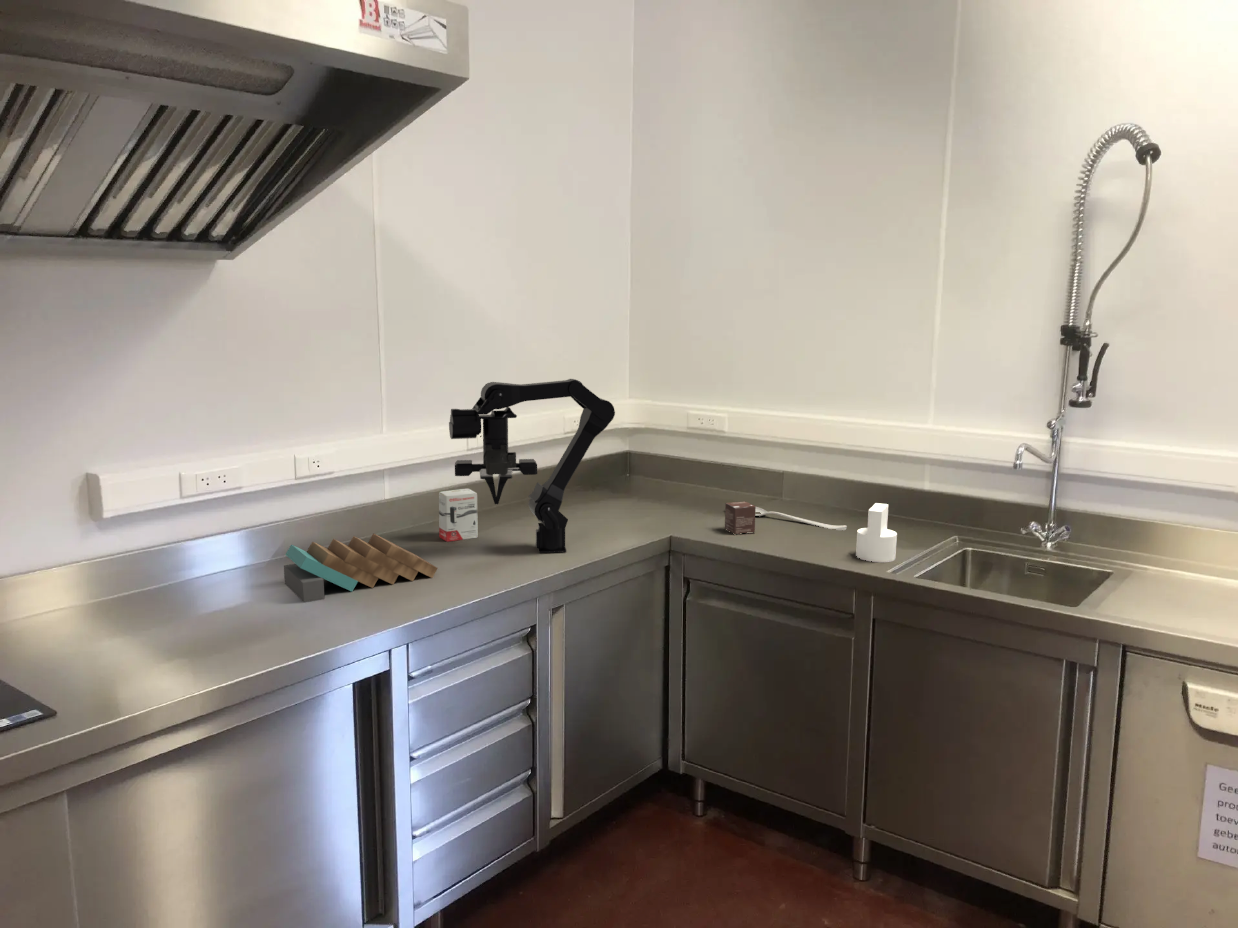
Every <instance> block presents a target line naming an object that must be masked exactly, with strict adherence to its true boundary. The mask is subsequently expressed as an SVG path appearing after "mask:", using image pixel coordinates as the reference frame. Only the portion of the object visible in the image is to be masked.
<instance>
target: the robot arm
mask: <svg viewBox="0 0 1238 928" xmlns="http://www.w3.org/2000/svg"><path fill="white" fill-rule="evenodd" d="M558 398H559V399H560V398H561V399H562V398H571V399H572V400H573V401H574V402H576V404H577V405H578V406H579V407H580V408H582V412H581V414H580V418H579V422H578V428H577V430H576V431H575V434H574V435H573V437H572V439H571V440H570V442H569V444H568V445H567V447H566V449H565V450H564V453H563V454H562V456H561V458H560V459H559V461H558V462H557V464H556V466H555V468H554V469H553V471H552V473H551V474H550V476H549V478H548V479H547V481H545V482H544V483H542V484H541V483H539V482H536V484H535V486H534V488H533V491H532V493H530V494H529V495H528V498H529V501H528V508H529V511H530V512H531V514H533V516H535V517H536V519H537V521H538V523H537V529H536V530H535V548H536V549H537V550H538V553H539V554H544V553H545V554H547V553H549V554H550V553H567V547H566V527H567V524H568V523H569V522H568V521H569V519H568V518H567V517H566V516H565V515H564V514H563V513H562V512H560V509H561V505H562V503H563V498H564V494H565V489H566V488H567V486H568V485H569V483H570V481H571V479H572V477H573V476H574V474H575V471H576V470H577V469H578V467H579V465H580V464H581V462H582V460H583V458H584V456H585V455H586V453H587V451H588V450H589V449H590V446H591V445H592V443H593V441H594V440H595V438H596V437H598V436H599V435H600V434H601V433H602V432H604V430H605V429H606V428H607V427H608V426H609V425H610V424H611V422H612V421H613V420H614V417H615V415H616V411H615V406H614V405H613V403H611V402H610V401H608V400H606V399H604V398H601V397H599V396H597V394H595V393H594V392H592V391H591V390H590V389H589V388H588V387H586V386H585V385H584V384H583V383H582V382H581V381H580V380H579V379H574V378H568V379H564V380H556V381H555V380H554V381H546V382H545V381H544V382H535V383H534V382H533V383H532V382H531V383H523V384H517V383H509V382H499V381H498V382H497V381H490V382H487V383H485V385H483V387H482V388H481V391H480V397H479V398H478V400H477V401H476V403H475V404H474V405H473V407H472V408H467V409H460V408H451V409H450V417H449V422H448V429H449V437H450V438H449V439H450V440H465V439H477V436H479V435H480V434H481V433H482V444H483V445H482V448H483V449H482V451H483V453H482V455H483V456H482V457H483V459H482V461H483V462H482V463H473V460H472V459H464V460H463V459H459V460H456V461H455V462H454V477H470V475H471V474H473V472H474V473H475V472H476V473H478V472H479V479H480V480H484V481H485V482H486V484H487V486H488V489H489V491H490V494H491V497H492V499H493V502H494V503H493V504H494V505H499V504H500V500H501V497H502V493H503V491H504V489H505V486H506V484H507V481H508V480H509V479H513V472H520V473H522V475H523V476H528V475H529V476H532V475H533V476H534V475H538V464H537V461H536V460H535V459H534V458H530V459H529V458H519V459H518V462H517V452H515V451H512V452H511V451H510V452H509V419H516V418H517V417H518V415H517V414H515V413H514V412H513V411H512V409H511V407H513V406H515V405H517V404H520V403H524V402H528V401H529V402H531V401H540V400H550V399H551V400H552V399H558ZM501 409H503V410H501ZM494 475H498V477H497V485H495V482H494V481H495V480H494ZM495 486H497V488H496V487H495Z"/></svg>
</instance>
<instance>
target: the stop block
mask: <svg viewBox="0 0 1238 928" xmlns="http://www.w3.org/2000/svg"><path fill="white" fill-rule="evenodd" d="M283 574H284V575H283V576H284V578H283V579H284V585H285V586H286V587H287V588H288V589H289V590H291V592H292V593H294V594H295V596H297V597H298V598H299V599H300V600H301V601H302V602H303V603H308V602H315V601H319V600H324V599H325V582H324V580H325V579H323V578H321V577H319V576H317V575H315V574H312V573H310V572H308V571H306V570H304V569H302V568H300V567H299V566H298V565H296V564H295V563H290V564H284V565H283Z"/></svg>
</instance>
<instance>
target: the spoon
mask: <svg viewBox="0 0 1238 928" xmlns="http://www.w3.org/2000/svg"><path fill="white" fill-rule="evenodd" d="M755 510H756V512H760V513H761V514H755V516H759V517H762V516H765V515H777V516H781V517H783V518H787V519H791V520H794V521H797V522H799V523H800V522H801V523H805V524H808V525H810V526H811V525H812V526H815V525H816V526H815V527H818V526H819V528H822V527H824V528H823V529H827V528H828V530H832V529H836V530H835V531H842V530H843V531H846V530H847V527H848V526H847V525H846V524H845V525H844V524H843V525H835V524H834V525H832V524H826V523H822V522H819V521H814V520H810V519H805V518H801V517H798V516H793V515H789V514H786V513H782V512H778V511H767V510H766V509H763V508H762V507H759V506H758V507H757V506H756V509H755Z"/></svg>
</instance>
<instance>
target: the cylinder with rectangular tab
mask: <svg viewBox="0 0 1238 928" xmlns="http://www.w3.org/2000/svg"><path fill="white" fill-rule="evenodd" d="M867 513H868V515H867V527H862V528H859V529H857V533H856V545H855V548H856V549H855V550H856V551H855V557H856V556H857V557H856V558H857V559H859V558H860V560H862V561H865V560H866V562H871V561H872V562H871V563H888V562H889V563H890V562H893V561H895V560H896V556H897V555H896V553H897V539H898V538H897V537H898V533H897V532H896V531H894V530H892V529H888V518H889V517H888V516H889V503H888V504H887V503H879V502H875V503H874V504H873V505H872V506H871V507H870V508H869V509H868V512H867Z"/></svg>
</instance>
